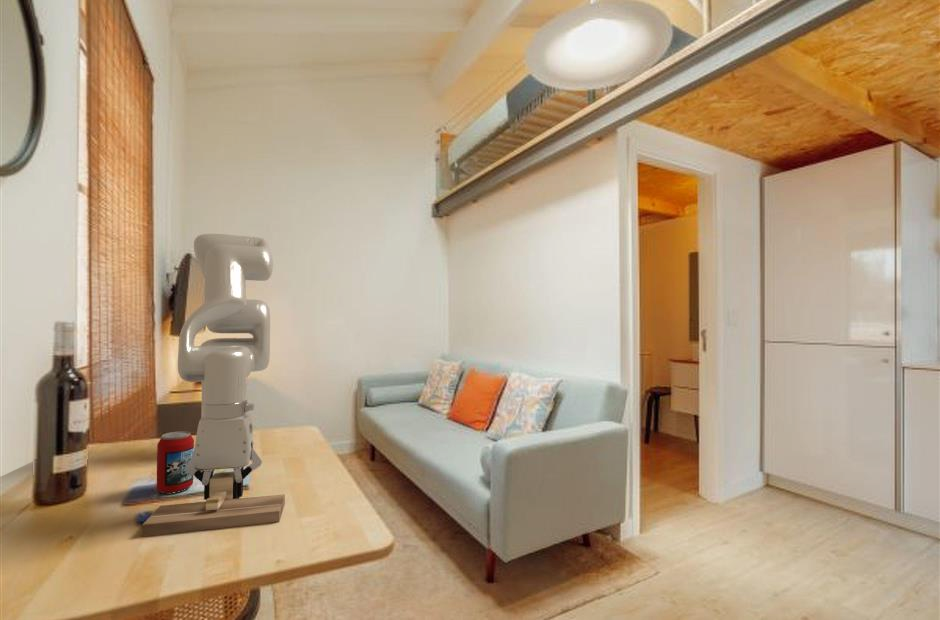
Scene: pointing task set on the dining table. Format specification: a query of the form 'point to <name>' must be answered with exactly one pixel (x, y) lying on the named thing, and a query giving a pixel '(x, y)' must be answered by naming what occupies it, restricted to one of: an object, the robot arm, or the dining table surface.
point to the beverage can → (174, 461)
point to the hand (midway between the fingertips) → (223, 500)
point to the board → (214, 515)
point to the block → (220, 489)
